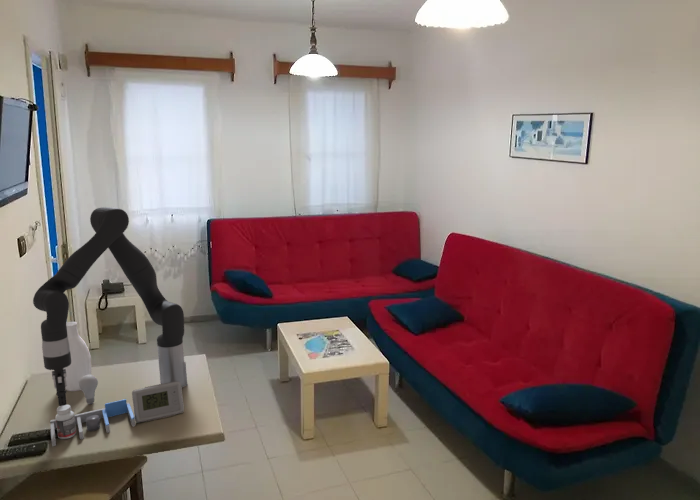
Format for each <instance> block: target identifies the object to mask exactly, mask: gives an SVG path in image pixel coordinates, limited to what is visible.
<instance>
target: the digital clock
mask: <svg viewBox="0 0 700 500" xmlns="http://www.w3.org/2000/svg"><path fill="white" fill-rule="evenodd" d="M182 388H183V387H182ZM182 388H181V383H180V382H179V381H177V382H171V383H164V384H161V383H159V384H154V385H150V386H145V387H142V388H141V387H140V388H138V389H133V390H132V392H131V395H132V396H131V397H132V406H133V415H134V417H135V423H144V422H150V421H152V422H153V421H156V420H159V419H165V418H170V417H173V416H175V415H179V414H183V413H184V411H185V406H184V398H183V391H182V390H183V389H182Z"/></svg>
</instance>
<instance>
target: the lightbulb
mask: <svg viewBox="0 0 700 500" xmlns="http://www.w3.org/2000/svg"><path fill="white" fill-rule="evenodd" d="M98 384H99V381H98V378H97V377H96V376H95V375H93V374H91V375H85V376H83V377H82V378H81V379H80V381H79V387H80V389H81V390H80V391H81V392H82V393H83V394H84V397H85V401H86V404H88V405H92V404H93V403H94V402H95V395H96V394H95V393H96V389H97V387H98Z"/></svg>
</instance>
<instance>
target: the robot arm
mask: <svg viewBox="0 0 700 500" xmlns="http://www.w3.org/2000/svg"><path fill="white" fill-rule="evenodd" d="M89 219H90V220H89V222H90V225H91V228H92V229H93V231H94V232H95V233H94V234H93V236H92V237H91V238H90V239H89V240H88V241H87V242H86V243H84V244H83V245H81V247H80V248H77V249H76V250H75V251H74V252H73V253H72V254H70V256H68V258H67V259H66V260H65V262H64V263H63V264H62V265H61V266H60V268H59V269H58V270H57V272H56V273H55V274H54V275H52V277H50V278H49V279H48V280H46V281H45V282H44V283H43V284H42V285H41V286H40V287H39V288H38V289H37V290H36V291H35V293H34V296H33V299H32V303H33V306H34V308H35V309H37V310H39V311H41V312H46V319H44V320H43V321H42V322H41V323H40V333H41V343H42V344H41V349H42V350H41V351H42V358H43V367H44V369H45V370H48V371H51V376H52V377H51V379H52V380H53V388H54V389H55V390H56V393H55V395H56V396H57V402H58V407H59V406H64V405H68V404H67V395H66V394H67V390H66V389H65V387H66V386H67V383H66V377H67V375H66V369H63V368H65V367H68V366H69V365H70V364H71V353H70V344H69V340H68V335H67V326H66V323H67V322H68V316H69V309H70V302H69V298H68V296H67V294H66V293H65V292H66V291H68V290H72V289H74V288H76V287H77V286H78V285H79V284H80V282H81V281H82V280H83V279H84V277H85V275H86V274H87V273H88V271H89V270H90V269H91V268H92V266H93V265H94V264H95V262H96V261H97V260H98V259H99V258H100V257H101V256H102V255H103V253H105V251H107V250H108V249H109V251H110V253H111V254H112V256H113V258H114V259H115V261H116V262H117V264H118V265H119V266H120V269H121V270H122V272H123V273H124V275H125V277H126V278H127V280H128V282H129V283H130V284H131V286H132V287H133V288H134V290H135V291H136V293H137V294H138V296H139V297H140V299H141V301H142V302H143V305H144V306H145V308H146V310H147V312H148V314H149V317H150V318H151V320H152V321H153V323H154V324H156V325H159V326H161V329H162V330H161V331H162V333H161V334H159V335H158V336H157V338H156V345H157V358H158V368H159V370H158V371H159V378H160V379H159V382H160V383H159V384H164V383H171V382H177V381H179V382H180V383H181V388H184V387H186V386H188V377H187V375H188V373H187V362H186V361H185V355H184V354H185V352H184V340H183V339H184V335H185V314H184V309H183V308H182V306H180V305H179V304H177V303H174V302H171V301H168V300H167V299H166V297H164V295H163V294H162V292H161V291H160V289H159V287H158V281H157V273H156V271H155V269H154V267H153V265H152V264H151V262H150V260H149V259H148V257H147V256H146V254H145V253H144V252H142V250H141V249H140V248H139V247H137V246H136V245H134V243H132V241H130V240H129V239H128V238H127V237H126V235H125V234H124V232H126V230H127V228H128V227H129V224H130V223H129V222H130V219H129V215H128V213H127V212H126V211H125V210H124V209H122V208H119V207H107V206H103V207H102V206H101V207H97V208H95V209H94V210H93V211H92V212H91V214H90V217H89Z"/></svg>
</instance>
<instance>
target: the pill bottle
mask: <svg viewBox="0 0 700 500" xmlns="http://www.w3.org/2000/svg"><path fill="white" fill-rule="evenodd" d="M56 413H57V414H56V415H55V419H56V426H57V429H56V432H57V437H58V439H60V440H67V439H70V438H73V437H74V436H76V434H77V428H76V427H77V426H76V425H77V424H75V416H74V415H75V412H74V411H73V410H72V407H71V405H70V404H66V405H64V406H59V405H58V407H57V408H56Z"/></svg>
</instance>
